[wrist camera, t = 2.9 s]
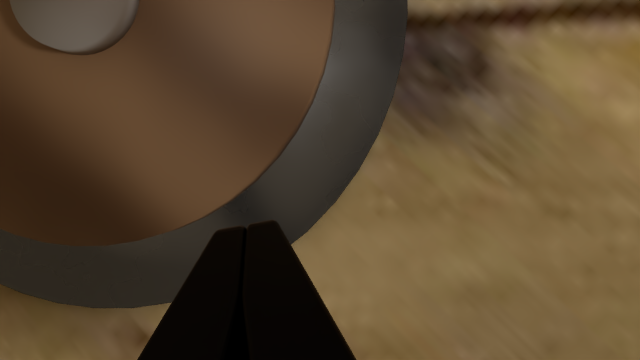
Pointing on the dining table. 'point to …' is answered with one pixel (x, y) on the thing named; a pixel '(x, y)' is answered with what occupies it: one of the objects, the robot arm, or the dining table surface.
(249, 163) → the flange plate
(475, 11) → the dining table surface
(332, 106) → the bowl
